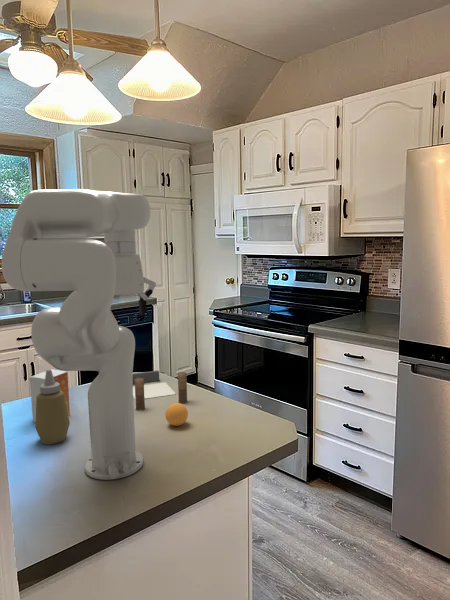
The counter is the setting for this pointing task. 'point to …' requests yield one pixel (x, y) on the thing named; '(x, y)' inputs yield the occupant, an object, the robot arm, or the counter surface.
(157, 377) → the stopper wall
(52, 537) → the counter surface
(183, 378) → the right post
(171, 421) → the ball
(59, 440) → the squeeze bottle
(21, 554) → the counter surface
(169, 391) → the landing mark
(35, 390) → the small box
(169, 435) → the counter surface
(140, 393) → the left post
